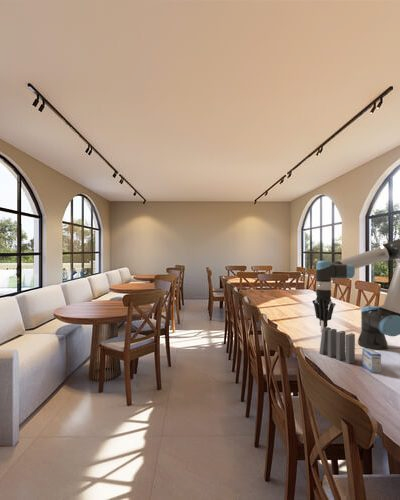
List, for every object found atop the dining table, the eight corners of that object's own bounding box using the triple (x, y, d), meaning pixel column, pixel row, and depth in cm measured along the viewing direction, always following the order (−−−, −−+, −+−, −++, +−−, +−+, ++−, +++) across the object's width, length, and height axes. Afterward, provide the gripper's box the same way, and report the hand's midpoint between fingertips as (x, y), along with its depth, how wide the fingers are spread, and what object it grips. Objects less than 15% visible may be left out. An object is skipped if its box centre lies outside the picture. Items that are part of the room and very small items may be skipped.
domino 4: (351, 360, 153) (351, 333, 152) (354, 361, 151) (354, 334, 151) (345, 362, 150) (345, 334, 150) (348, 363, 148) (349, 335, 148)
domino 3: (342, 357, 157) (342, 330, 157) (345, 358, 155) (345, 331, 155) (336, 359, 154) (336, 332, 154) (339, 360, 153) (339, 333, 153)
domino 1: (325, 351, 165) (328, 327, 164) (328, 352, 164) (331, 328, 162) (319, 353, 163) (322, 328, 161) (322, 354, 161) (325, 329, 159)
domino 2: (333, 354, 161) (333, 328, 161) (336, 355, 160) (336, 329, 159) (327, 356, 158) (327, 330, 158) (330, 357, 157) (330, 330, 157)
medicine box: (361, 366, 146) (361, 348, 146) (370, 366, 146) (370, 348, 146) (371, 372, 138) (371, 354, 138) (381, 372, 138) (381, 354, 138)
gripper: (309, 288, 167) (308, 330, 167) (330, 291, 156) (329, 336, 156) (317, 287, 171) (317, 328, 171) (338, 290, 160) (338, 334, 160)
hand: (323, 332), depth 163 cm, fingers closed
